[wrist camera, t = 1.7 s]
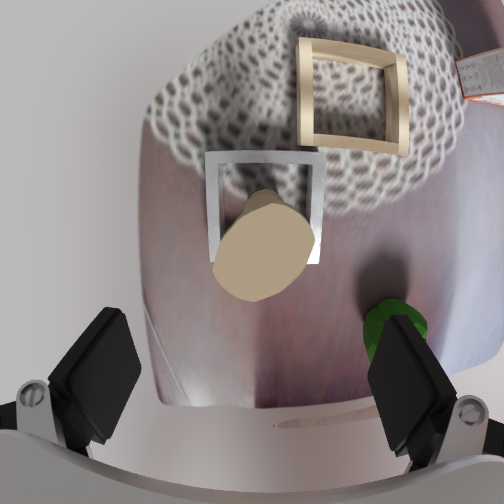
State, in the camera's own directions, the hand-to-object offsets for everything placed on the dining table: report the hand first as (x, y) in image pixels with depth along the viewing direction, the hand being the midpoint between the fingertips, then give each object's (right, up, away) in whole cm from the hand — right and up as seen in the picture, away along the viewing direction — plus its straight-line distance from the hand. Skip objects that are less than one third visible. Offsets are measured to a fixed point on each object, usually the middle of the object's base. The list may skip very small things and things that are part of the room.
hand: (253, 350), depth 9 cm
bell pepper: (+18, -5, +26) cm, 32 cm away
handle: (+1, +9, +21) cm, 23 cm away
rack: (+10, +20, +16) cm, 27 cm away
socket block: (+1, +9, +21) cm, 23 cm away
